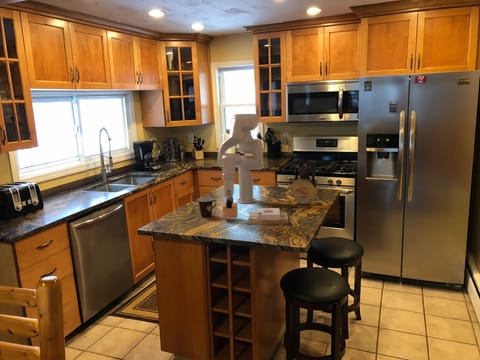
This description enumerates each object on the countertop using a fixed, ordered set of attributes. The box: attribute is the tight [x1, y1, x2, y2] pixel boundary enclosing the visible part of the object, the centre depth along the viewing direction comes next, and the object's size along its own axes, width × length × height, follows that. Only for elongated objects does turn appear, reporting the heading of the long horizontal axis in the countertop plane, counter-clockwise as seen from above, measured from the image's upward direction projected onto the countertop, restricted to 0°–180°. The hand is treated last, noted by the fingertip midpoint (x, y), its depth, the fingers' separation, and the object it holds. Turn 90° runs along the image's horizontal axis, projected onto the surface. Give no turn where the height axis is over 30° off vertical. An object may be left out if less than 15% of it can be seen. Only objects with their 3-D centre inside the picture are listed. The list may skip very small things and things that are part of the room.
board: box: [248, 211, 289, 225], centre depth 224 cm, size 16×22×2 cm
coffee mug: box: [197, 197, 217, 218], centre depth 235 cm, size 12×9×10 cm
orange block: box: [222, 202, 239, 221], centre depth 226 cm, size 7×8×9 cm
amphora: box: [290, 158, 319, 208], centre depth 250 cm, size 18×17×30 cm
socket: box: [256, 207, 280, 220], centre depth 224 cm, size 13×13×4 cm
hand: (229, 206), depth 225 cm, fingers open, 9 cm apart
